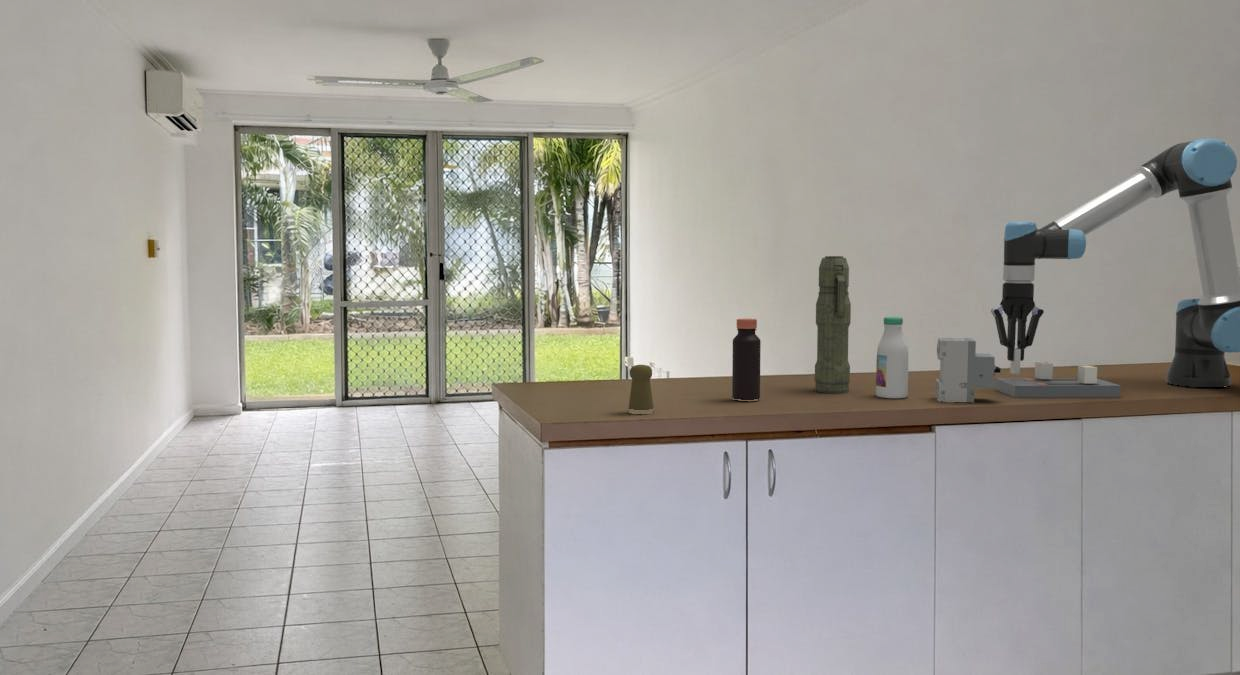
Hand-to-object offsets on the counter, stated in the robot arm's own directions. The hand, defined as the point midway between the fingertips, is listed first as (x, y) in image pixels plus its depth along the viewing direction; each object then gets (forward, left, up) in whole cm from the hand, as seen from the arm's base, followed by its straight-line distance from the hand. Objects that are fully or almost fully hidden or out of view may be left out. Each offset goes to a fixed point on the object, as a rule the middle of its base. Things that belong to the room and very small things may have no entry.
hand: (1015, 373), depth 266 cm
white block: (-15, +8, -1) cm, 17 cm away
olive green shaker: (+97, +32, -5) cm, 102 cm away
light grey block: (-7, 0, -1) cm, 7 cm away
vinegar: (+71, +14, -5) cm, 72 cm away
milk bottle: (+34, +9, -5) cm, 35 cm away
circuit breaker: (+17, +15, -5) cm, 23 cm away
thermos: (+47, -1, -5) cm, 47 cm away
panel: (-9, +4, -5) cm, 11 cm away
